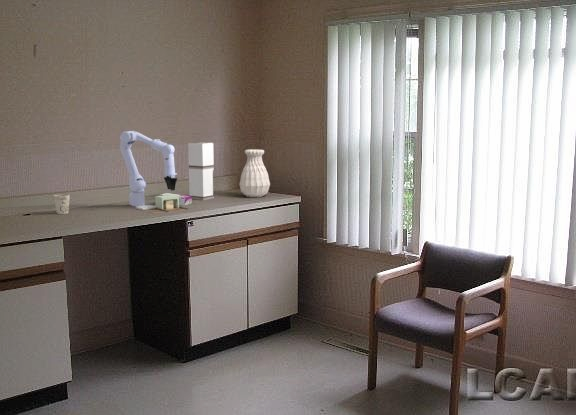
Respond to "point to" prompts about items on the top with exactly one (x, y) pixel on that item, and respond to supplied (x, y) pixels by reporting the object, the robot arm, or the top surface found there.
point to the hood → (166, 197)
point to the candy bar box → (181, 198)
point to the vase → (254, 175)
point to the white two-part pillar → (201, 170)
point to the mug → (62, 203)
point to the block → (168, 204)
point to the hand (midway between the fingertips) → (171, 189)
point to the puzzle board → (163, 210)
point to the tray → (145, 207)
